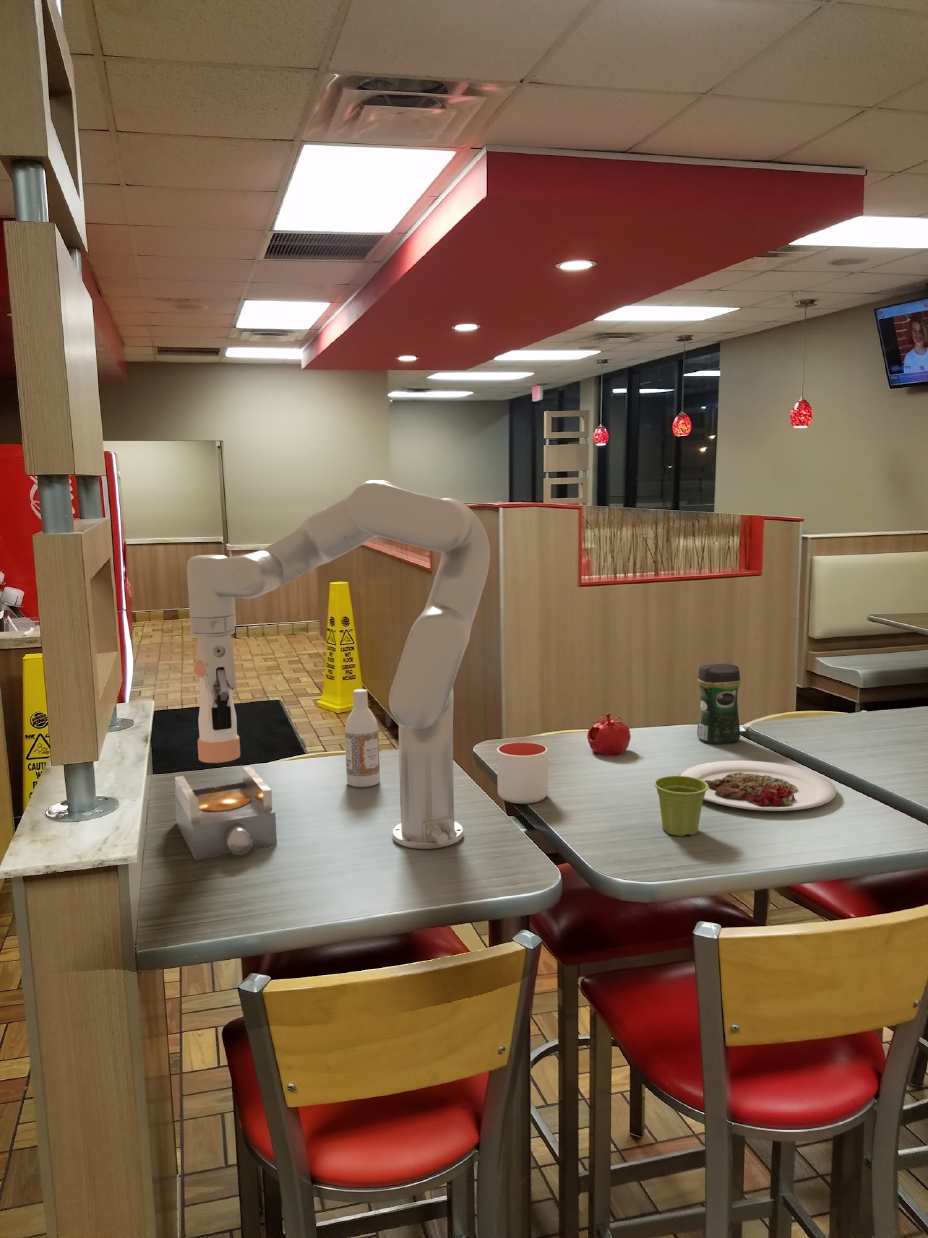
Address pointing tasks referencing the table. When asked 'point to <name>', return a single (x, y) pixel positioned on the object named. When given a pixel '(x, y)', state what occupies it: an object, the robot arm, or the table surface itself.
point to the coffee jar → (718, 703)
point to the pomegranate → (609, 736)
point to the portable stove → (226, 815)
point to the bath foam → (362, 743)
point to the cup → (522, 772)
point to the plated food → (762, 785)
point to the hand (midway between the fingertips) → (218, 723)
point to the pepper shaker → (213, 742)
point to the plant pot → (680, 803)
